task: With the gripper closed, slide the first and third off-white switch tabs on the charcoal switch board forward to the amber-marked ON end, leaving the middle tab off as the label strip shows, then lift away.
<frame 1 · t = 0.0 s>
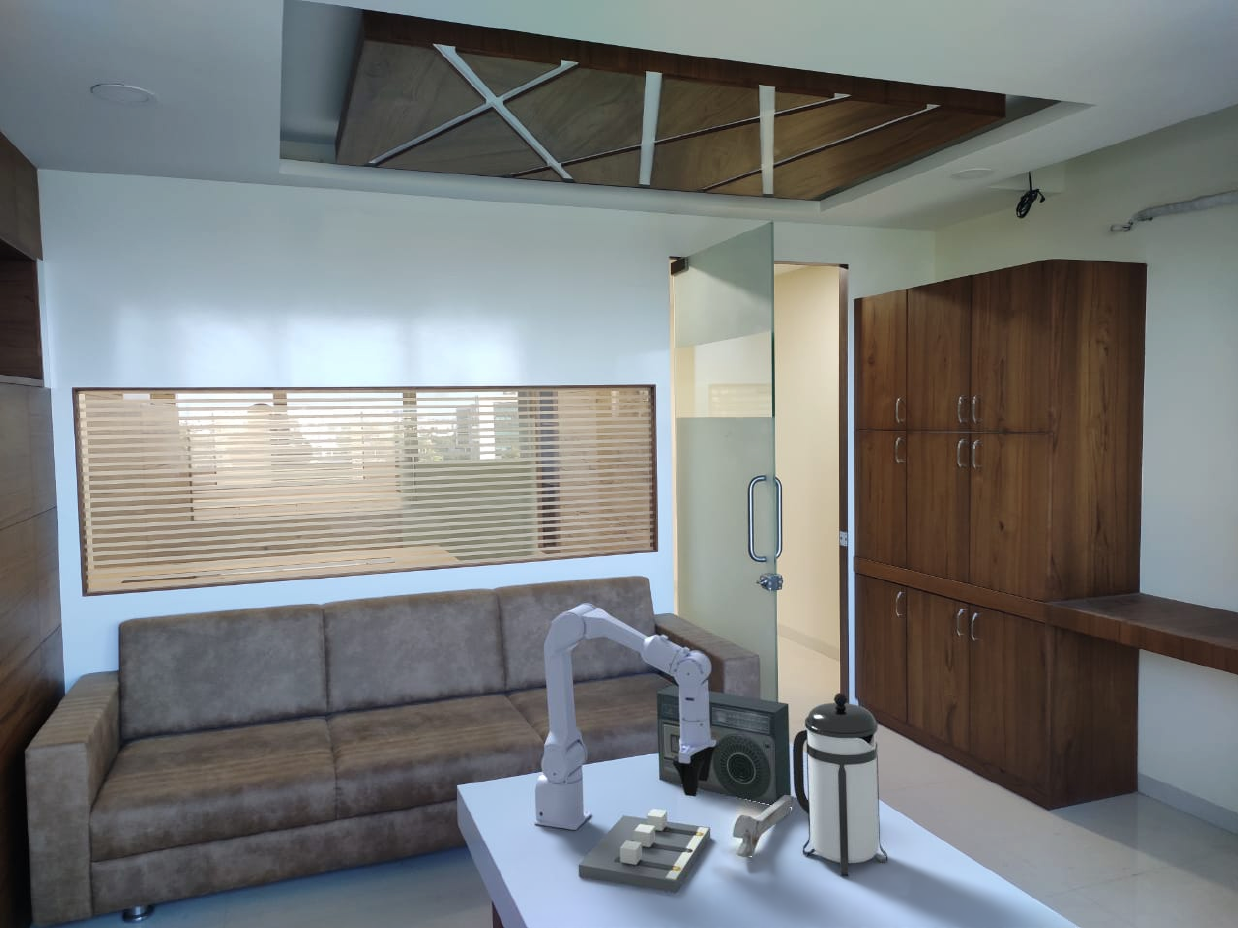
hand: (696, 787, 163), 10 cm above the table, tool pointing down, fingers open, 7 cm apart
coffee press: (838, 856, 156), on the table
switch board: (647, 855, 158), on the table
cassette player: (723, 788, 188), on the table
wrench: (766, 836, 165), on the table
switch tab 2: (644, 835, 158), point 4 cm above the table, slide at 0.0 cm
switch tab 1: (631, 852, 151), point 4 cm above the table, slide at 0.0 cm
switch tab 3: (657, 819, 164), point 4 cm above the table, slide at 0.0 cm
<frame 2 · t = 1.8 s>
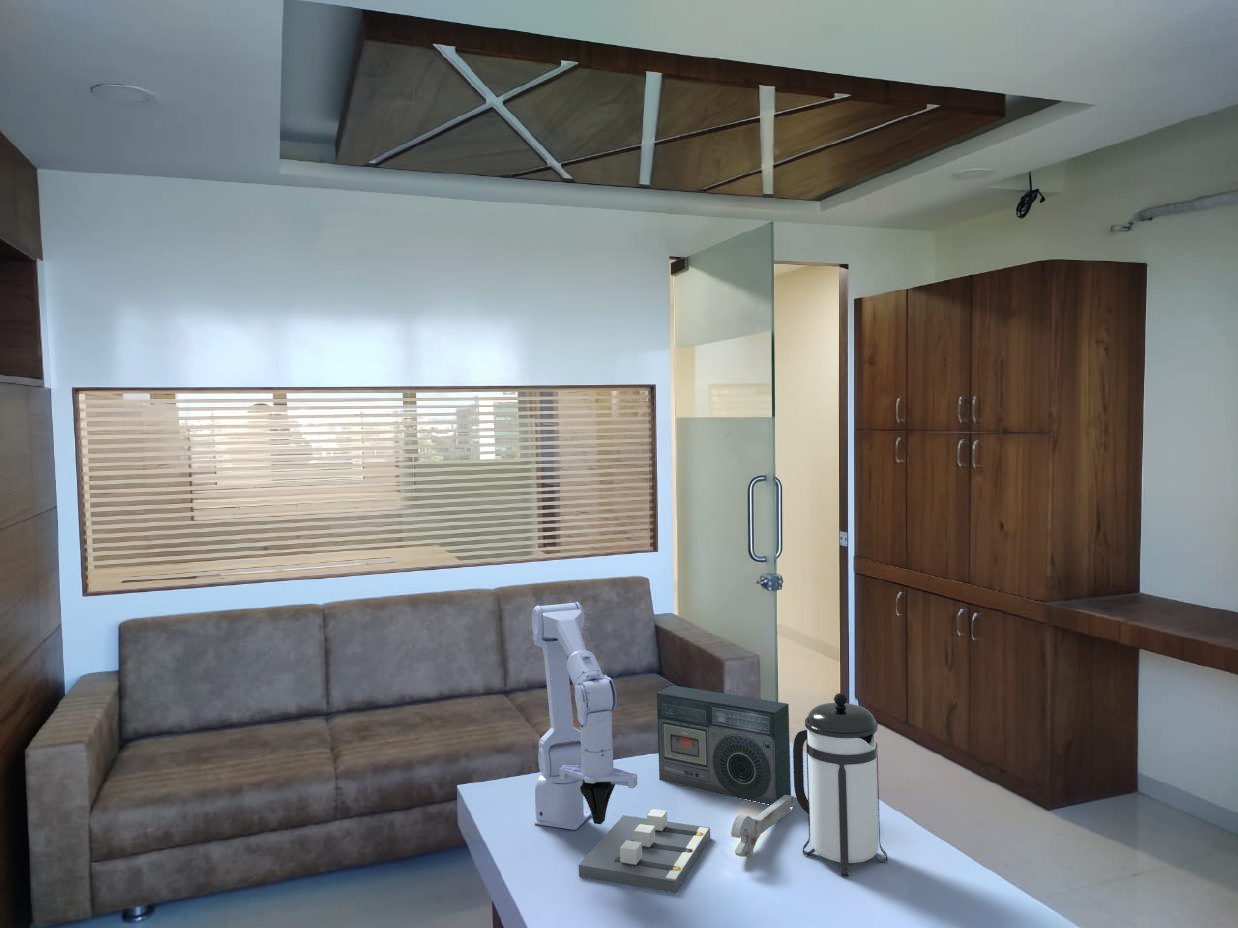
hand: (599, 821, 154), 8 cm above the table, tool pointing down, fingers closed
nothing on the table moved.
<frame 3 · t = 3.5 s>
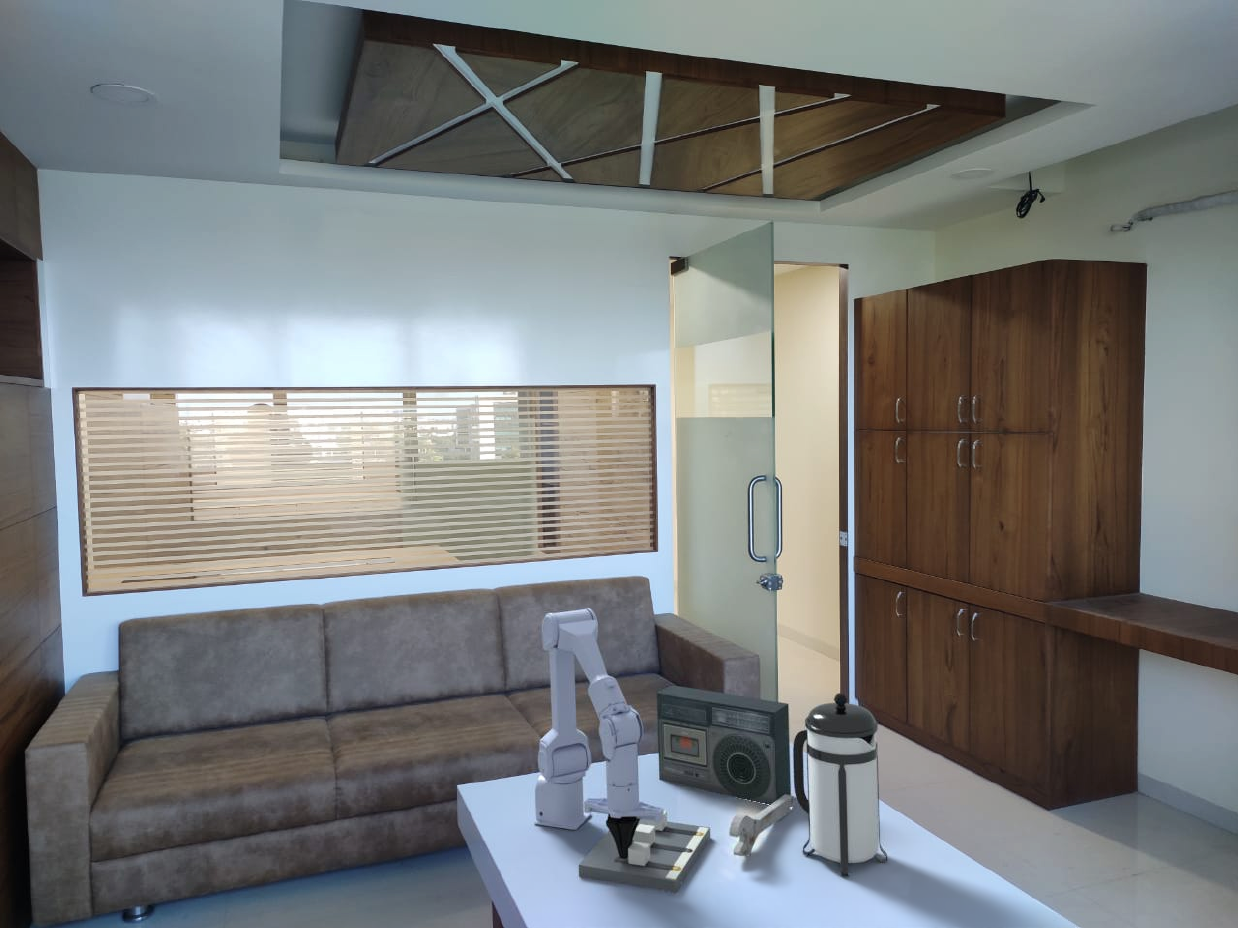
hand: (624, 855, 152), 3 cm above the table, tool pointing down, fingers closed
switch tab 1: (639, 853, 151), point 4 cm above the table, slide at 1.6 cm, touching gripper
everything else where it was.
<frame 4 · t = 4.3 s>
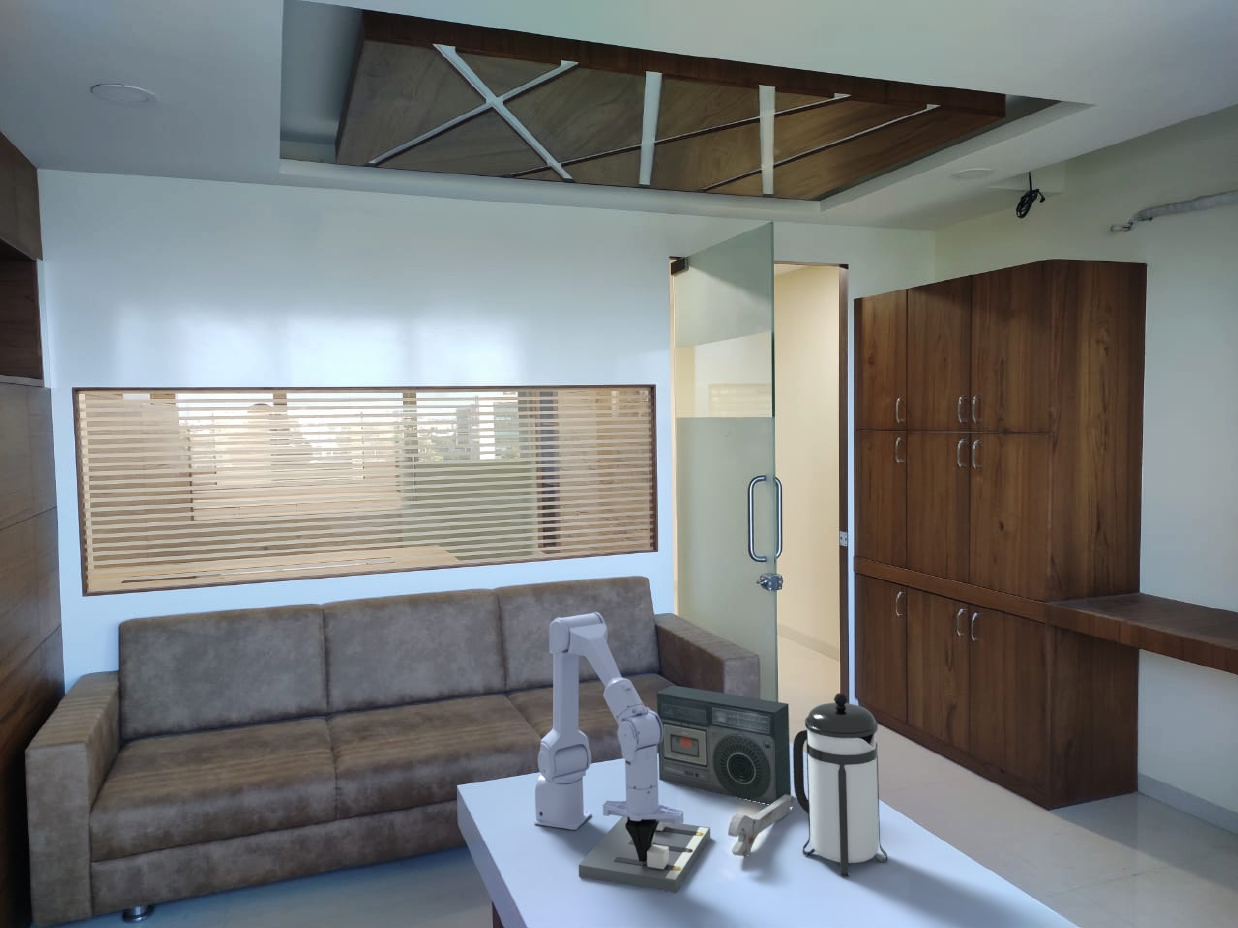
hand: (644, 859, 151), 3 cm above the table, tool pointing down, fingers closed
switch tab 1: (658, 856, 150), point 4 cm above the table, slide at 5.1 cm, touching gripper
everything else where it was.
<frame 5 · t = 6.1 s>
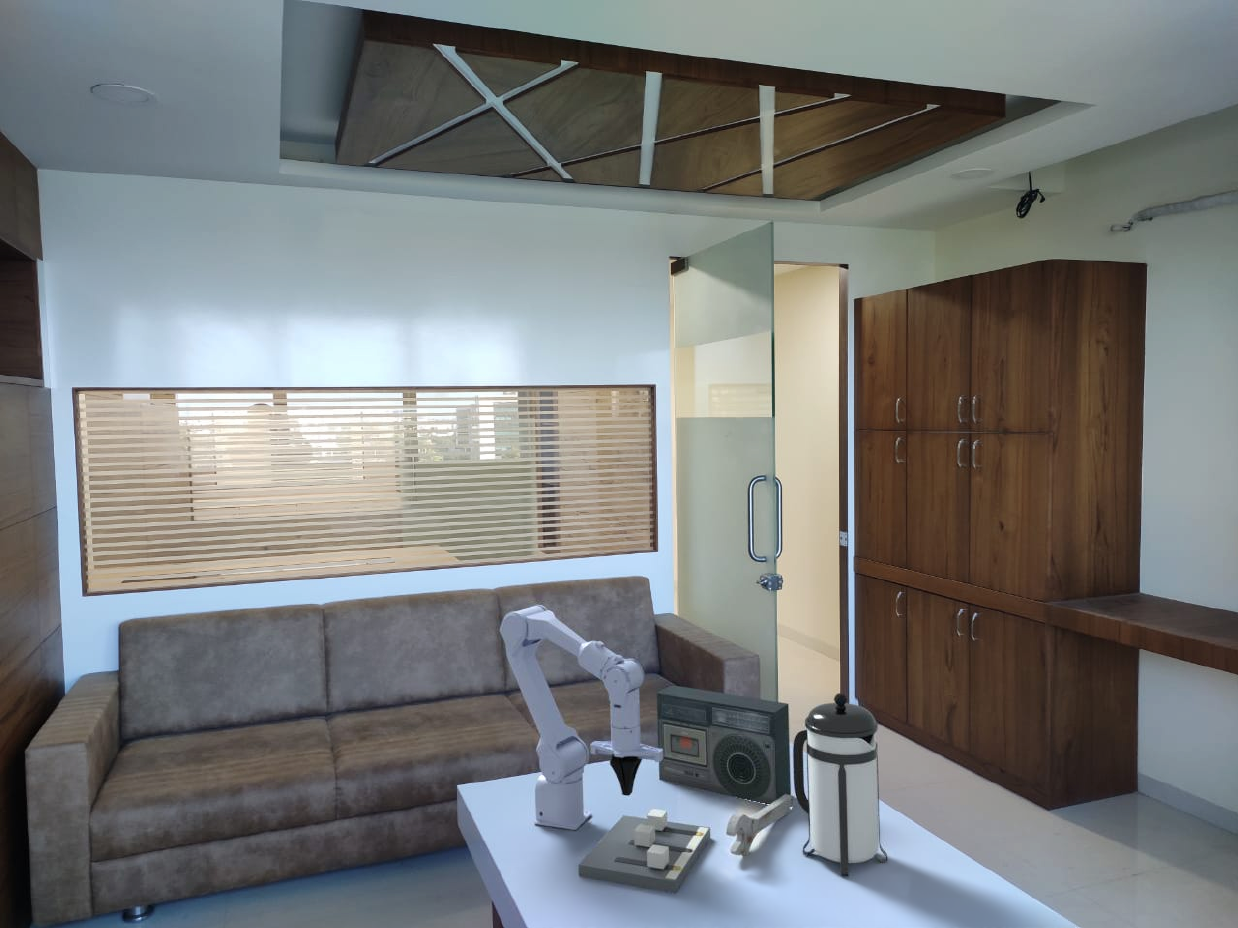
hand: (627, 793, 166), 8 cm above the table, tool pointing down, fingers closed
switch tab 1: (658, 856, 150), point 4 cm above the table, slide at 5.1 cm
everything else where it was.
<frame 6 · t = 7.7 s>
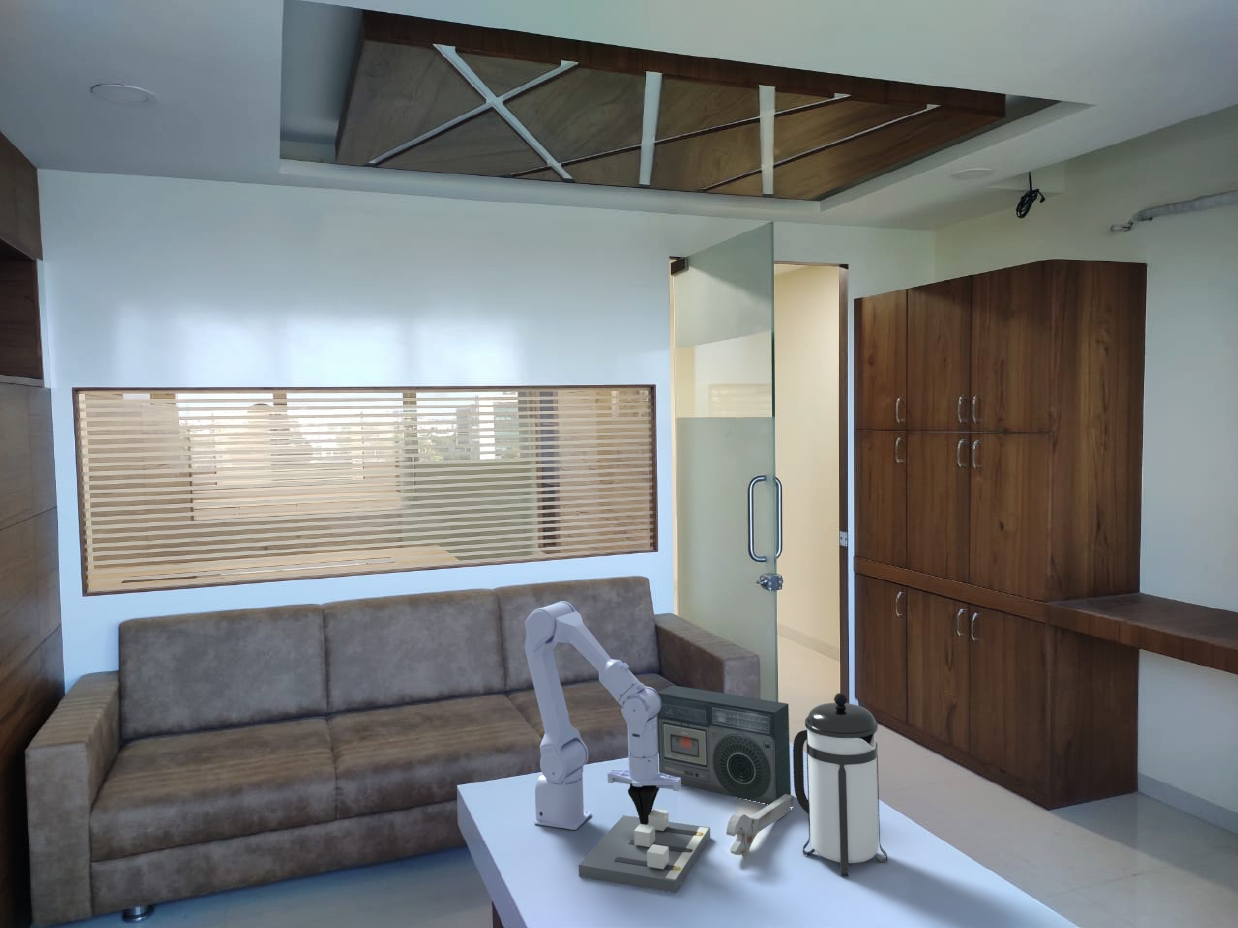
hand: (645, 822, 165), 3 cm above the table, tool pointing down, fingers closed
switch tab 3: (658, 819, 164), point 4 cm above the table, slide at 0.3 cm, touching gripper
everything else where it was.
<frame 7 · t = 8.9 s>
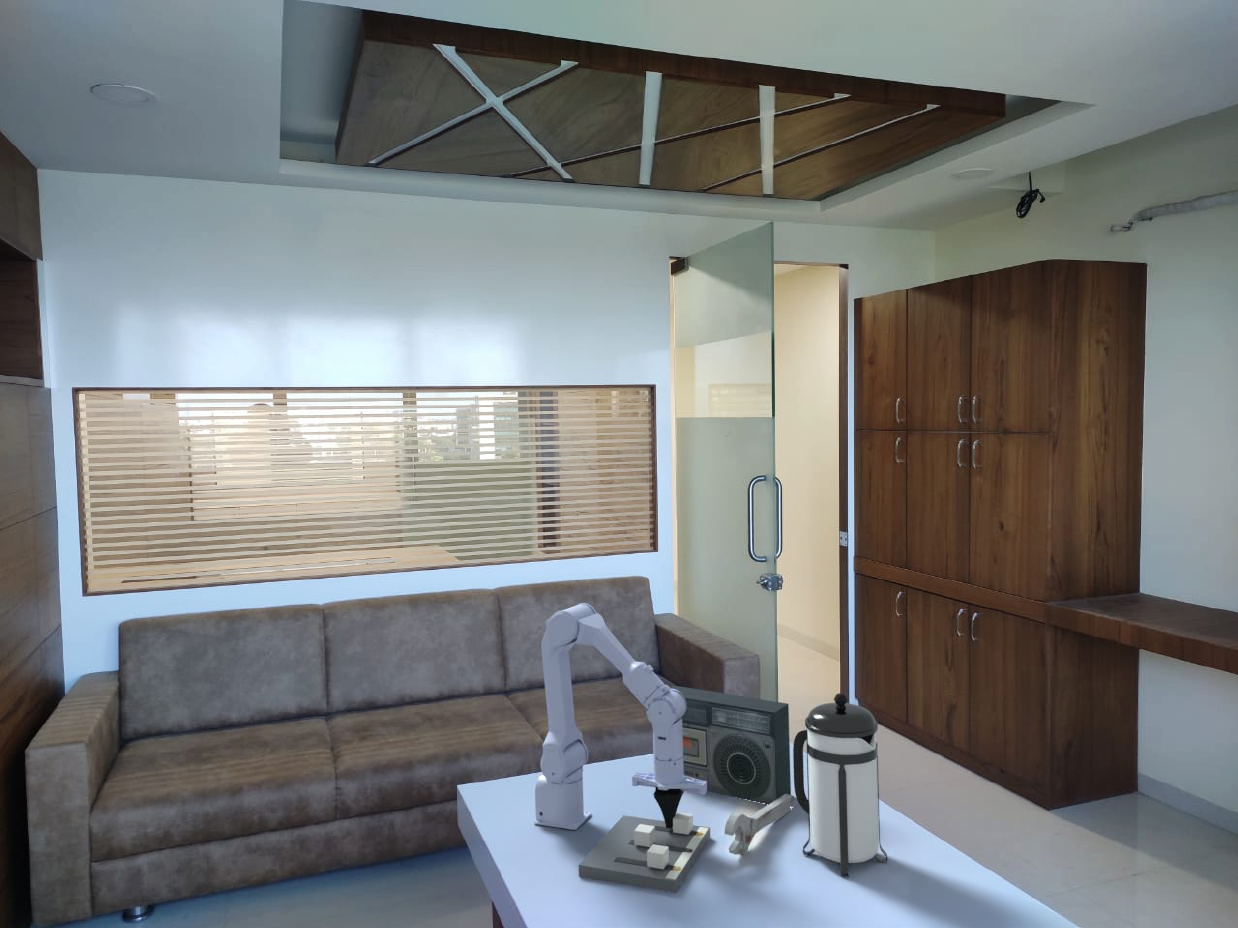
hand: (670, 826, 163), 3 cm above the table, tool pointing down, fingers closed
switch tab 3: (683, 823, 162), point 4 cm above the table, slide at 5.2 cm, touching gripper
everything else where it was.
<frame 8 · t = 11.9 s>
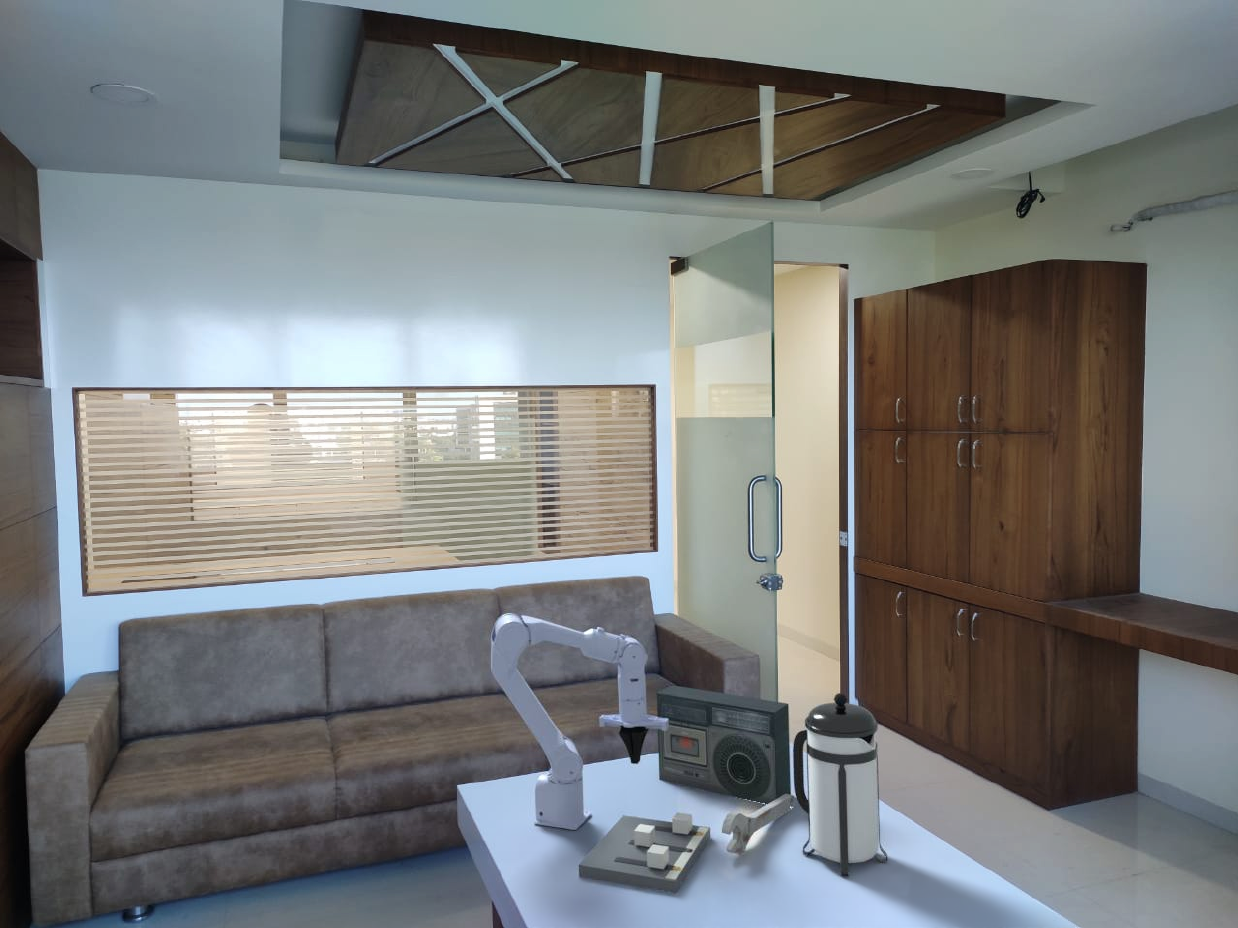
hand: (635, 761, 177), 10 cm above the table, tool pointing down, fingers closed
switch tab 3: (682, 823, 163), point 4 cm above the table, slide at 5.1 cm
at the end: switch tab 1 slide at 5.1 cm; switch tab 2 slide at 0.0 cm; switch tab 3 slide at 5.1 cm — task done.
